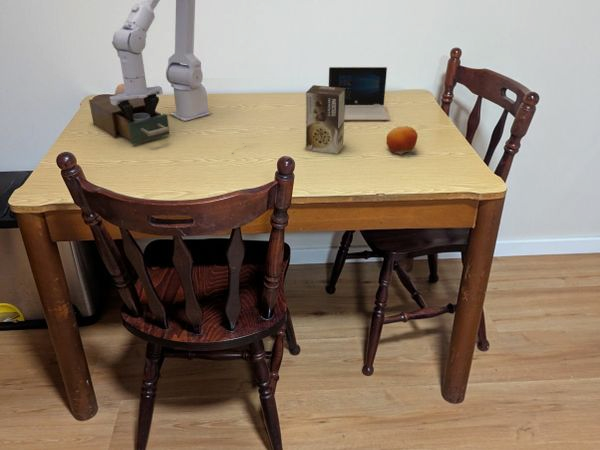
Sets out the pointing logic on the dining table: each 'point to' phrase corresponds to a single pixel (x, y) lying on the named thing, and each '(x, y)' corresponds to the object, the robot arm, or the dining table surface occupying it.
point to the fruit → (402, 139)
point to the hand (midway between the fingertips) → (141, 124)
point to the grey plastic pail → (140, 116)
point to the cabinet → (109, 113)
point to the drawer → (142, 126)
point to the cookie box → (325, 118)
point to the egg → (120, 89)
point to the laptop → (361, 91)
